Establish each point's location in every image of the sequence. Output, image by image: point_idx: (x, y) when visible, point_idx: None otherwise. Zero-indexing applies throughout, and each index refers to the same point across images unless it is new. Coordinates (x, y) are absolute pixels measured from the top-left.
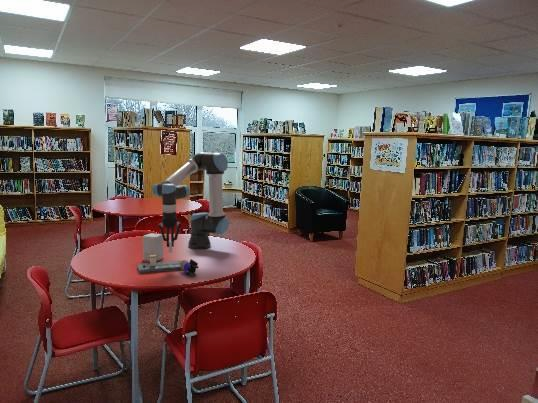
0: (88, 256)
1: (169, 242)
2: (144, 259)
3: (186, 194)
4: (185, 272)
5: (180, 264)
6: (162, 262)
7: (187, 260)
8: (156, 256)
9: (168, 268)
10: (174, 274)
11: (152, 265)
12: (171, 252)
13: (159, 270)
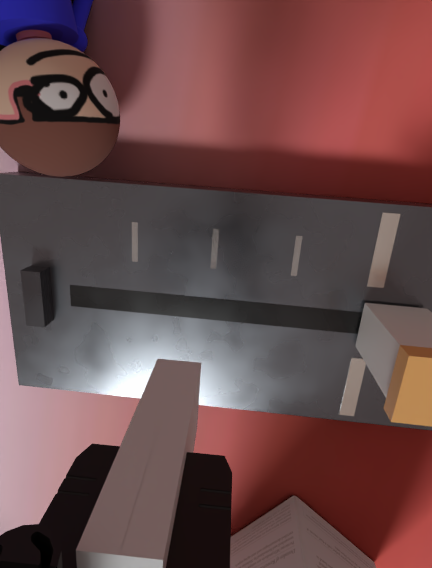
0: None
1: (156, 540)
2: (368, 561)
3: None
4: (85, 3)
5: (103, 91)
6: (266, 392)
7: (18, 368)
8: (405, 352)
9: (250, 193)
10: (215, 41)
11: (408, 308)
12: (165, 362)
13: (349, 198)
